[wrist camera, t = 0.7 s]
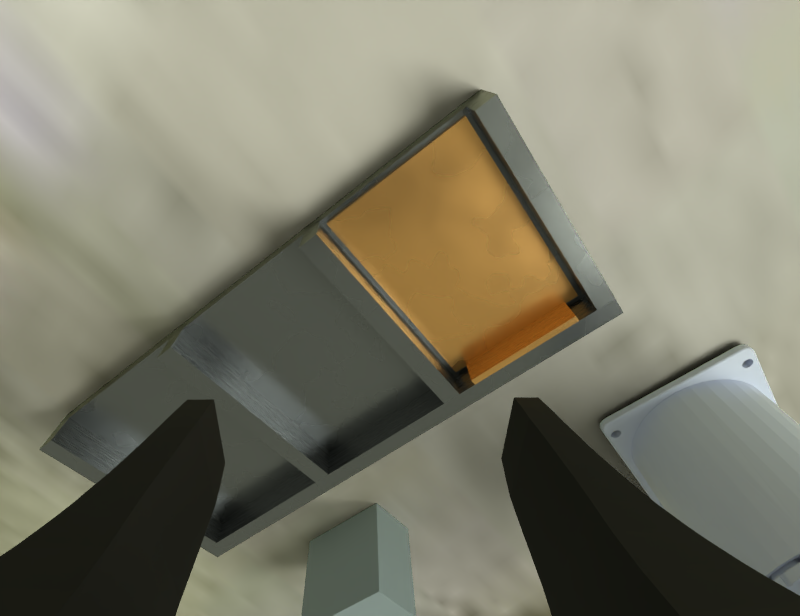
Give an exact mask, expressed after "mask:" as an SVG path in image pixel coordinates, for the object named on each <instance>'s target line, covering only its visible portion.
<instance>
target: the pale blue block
mask: <svg viewBox="0 0 800 616" xmlns="http://www.w3.org/2000/svg"><path fill="white" fill-rule="evenodd" d="M302 616H416V610H415V600H414V589H413V578H412V568H411V557H410V546H409V536H408V529H407V528H406V527H405V526H404V525H403V524H401V523H400V522H399V521H398V520H397V519H395V518H394V517H393V516H392V515H390V514H389V513H388V512H387V511H386V510H384V509H383V508H382V507H381V506H380V505H378V504H377V503H376V504H374V505H372V506H371V507H369V508H367V509H365V510H364V511H362V512H360V513H359V514H357V515H355V516H353V517H352V518H350V519H348V520H346V521H345V522H343V523H341V524H339V525H338V526H336V527H334V528H332V529H331V530H329V531H327V532H326V533H324V534H322V535H320V536H319V537H317V538H315V539H313V540H312V541H310V544H309V553H308V562H307V571H306V580H305V589H304V598H303V607H302Z"/></svg>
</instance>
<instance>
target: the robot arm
mask: <svg viewBox="0 0 800 616" xmlns="http://www.w3.org/2000/svg"><path fill="white" fill-rule="evenodd" d="M600 429H601V430H602V432H603V433H604V435H605V436H606V437H607V439H608V440H609V442H610V443H611V444H612V446H613V447H614V449H615V450H616V451H617V453H618V454H619V455H620V457H621V458H622V460H623V461H624V462H625V464H626V465H627V467H628V468H629V469H630V471H631V472H632V474H633V475H634V476H635V478H636V479H637V480H638V482H639V483H640V485H641V486H642V487H643V489H644V490H645V492H646V493H647V494H648V496H649V497H650V498H651V499H650V498H649V497H648V496H646V495H645V494H644V493H643V492H641V491H640V490H639V489H638V488H636V487H635V486H634V485H633V484H632V483H630V482H629V481H628V480H627V479H626V478H624V477H623V476H622V475H621V474H620V473H618V472H617V471H616V470H615V469H614V468H613V467H612V466H610V465H609V464H608V463H607V462H606V461H605V460H604V459H603V458H601V457H600V456H599V455H598V454H597V453H596V452H595V451H594V450H593V449H592V448H590V447H589V446H588V445H587V444H586V443H585V442H584V441H583V440H582V439H581V438H580V437H579V436H578V435H577V434H576V433H575V432H574V431H572V430H571V429H570V428H569V427H568V426H567V425H566V424H565V423H564V422H563V421H562V420H561V419H560V418H559V417H558V416H557V415H556V414H555V413H554V412H553V411H552V410H551V409H550V408H549V407H548V406H547V405H546V404H545V403H543V402H542V401H541V400H540V399H539V398H514V401H513V405H512V410H511V415H510V420H509V425H508V429H507V434H506V439H505V444H504V449H503V454H502V463H503V468H504V472H505V477H506V481H507V485H508V489H509V494H510V498H511V501H512V503H513V506H514V509H515V512H516V515H517V518H518V520H519V523H520V526H521V529H522V532H523V534H524V537H525V540H526V542H527V545H528V548H529V551H530V553H531V556H532V559H533V562H534V564H535V567H536V570H537V573H538V575H539V578H540V581H541V584H542V586H543V589H544V592H545V595H546V599H547V602H548V605H549V608H550V611H551V615H552V616H800V424H798V423H797V422H796V421H795V420H794V419H793V418H791V417H790V416H789V415H788V414H787V413H785V412H784V411H783V410H782V409H781V408H780V407H778V405H777V403H776V400H775V398H774V396H773V393H772V391H771V389H770V386H769V384H768V382H767V379H766V377H765V375H764V372H763V370H762V368H761V365H760V363H759V361H758V358H757V356H756V354H755V351H754V350H753V349H752V348H751V347H750V346H748V345H746V344H741V345H738V346H736V347H734V348H732V349H730V350H728V351H727V352H725V353H723V354H721V355H719V356H718V357H716V358H714V359H712V360H710V361H708V362H707V363H705V364H703V365H701V366H699V367H698V368H696V369H694V370H692V371H690V372H688V373H687V374H685V375H683V376H681V377H679V378H678V379H676V380H674V381H672V382H670V383H668V384H667V385H665V386H663V387H661V388H659V389H657V390H656V391H654V392H652V393H650V394H648V395H647V396H645V397H643V398H641V399H639V400H637V401H636V402H634V403H632V404H630V405H628V406H627V407H625V408H623V409H621V410H619V411H617V412H616V413H614V414H612V415H610V416H608V417H607V418H605V419H603V420H602V422H601V423H600ZM614 431H615V432H614ZM224 467H225V458H224V453H223V447H222V441H221V436H220V430H219V425H218V419H217V413H216V408H215V402H214V399H205V400H186V401H185V402H184V403H183V404H182V405H181V406H180V407H179V408H178V409H177V410H176V411H174V412H173V413H172V414H171V415H170V416H169V417H168V418H167V419H166V420H165V421H164V422H163V423H162V424H161V425H160V426H159V427H158V428H157V429H156V430H155V431H154V432H153V433H151V434H150V435H149V436H148V437H147V438H146V439H145V440H144V441H143V442H142V443H141V444H140V445H139V446H138V447H137V448H136V449H134V450H133V451H132V452H131V453H130V454H129V455H128V456H127V457H126V458H125V459H124V460H122V461H121V462H120V463H119V464H118V465H117V466H116V467H115V468H114V469H113V470H111V471H110V472H109V473H108V474H107V475H106V476H105V477H103V478H102V479H101V480H100V481H99V482H97V483H96V484H95V485H94V486H93V487H92V488H90V489H89V490H88V491H87V492H86V493H85V494H83V495H82V496H81V497H80V498H79V499H77V500H76V501H75V502H74V503H72V504H71V505H70V506H69V507H67V508H66V509H65V510H64V511H62V512H61V513H60V514H58V515H57V516H56V517H55V518H53V519H52V520H51V521H49V522H48V523H47V524H45V525H44V526H43V527H41V528H40V529H38V530H37V531H36V532H34V533H33V534H32V535H30V536H29V537H28V538H26V539H25V540H23V541H22V542H21V543H19V544H18V545H16V546H15V547H14V548H12V549H11V550H9V551H8V552H6V553H5V554H3V555H2V556H0V616H175V615H176V612H177V609H178V606H179V603H180V600H181V598H182V595H183V592H184V590H185V587H186V584H187V581H188V579H189V576H190V573H191V571H192V568H193V565H194V562H195V560H196V557H197V554H198V552H199V549H200V546H201V544H202V541H203V538H204V535H205V533H206V530H207V527H208V524H209V522H210V519H211V516H212V513H213V510H214V508H215V505H216V501H217V497H218V493H219V489H220V485H221V480H222V476H223V471H224Z"/></svg>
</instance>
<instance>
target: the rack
mask: <svg viewBox="0 0 800 616" xmlns="http://www.w3.org/2000/svg"><path fill="white" fill-rule="evenodd" d="M622 313H623V311H622V310H621V308H620V306H619V304H618V303H617V301H616V299H615V297H614V296H613V294H612V292H611V291H610V289H609V287H608V285H607V284H606V282H605V280H604V278H603V277H602V275H601V273H600V272H599V270H598V268H597V266H596V265H595V263H594V261H593V259H592V258H591V256H590V254H589V253H588V251H587V249H586V247H585V246H584V244H583V242H582V241H581V239H580V237H579V235H578V234H577V232H576V230H575V228H574V227H573V225H572V223H571V222H570V220H569V218H568V216H567V215H566V213H565V211H564V209H563V208H562V206H561V204H560V203H559V201H558V199H557V197H556V196H555V194H554V192H553V191H552V189H551V187H550V185H549V184H548V182H547V180H546V178H545V177H544V175H543V173H542V172H541V170H540V168H539V166H538V165H537V163H536V161H535V159H534V158H533V156H532V154H531V153H530V151H529V149H528V147H527V146H526V144H525V142H524V140H523V139H522V137H521V135H520V134H519V132H518V130H517V128H516V127H515V125H514V123H513V122H512V120H511V118H510V116H509V115H508V113H507V111H506V109H505V108H504V106H503V104H502V103H501V101H500V99H499V97H498V96H497V94H494V93H491V92H488V91H484V90H480V91H478V92H477V93H476V94H474V95H473V96H472V97H471V98H469V99H468V100H467V101H466V102H464V103H463V104H462V105H460V106H459V107H458V108H457V109H455V110H454V111H453V112H452V113H450V114H449V115H448V116H446V117H445V118H444V119H443V120H441V121H440V122H439V123H438V124H436V125H435V126H434V127H432V128H431V129H430V130H429V131H427V132H426V133H425V134H424V135H422V136H421V137H420V138H419V139H417V140H416V141H415V142H413V143H412V144H411V145H410V146H408V147H407V148H406V149H405V150H403V151H402V152H401V153H399V154H398V155H397V156H396V157H394V158H393V159H392V160H391V161H389V162H388V163H387V164H385V165H384V166H383V167H382V168H380V169H379V170H378V171H377V172H375V173H374V174H373V175H371V176H370V177H369V178H368V179H366V180H365V181H364V182H363V183H361V184H360V185H359V186H358V187H356V188H355V189H354V190H352V191H351V192H350V193H349V194H347V195H346V196H345V197H344V198H342V199H341V200H340V201H338V202H337V203H336V204H335V205H333V206H332V207H331V208H330V209H328V210H327V211H326V212H324V213H323V214H322V215H321V216H319V217H318V218H317V219H316V220H314V221H313V222H312V223H311V224H309V225H308V226H307V227H305V228H304V229H303V230H302V231H300V232H299V233H298V234H297V235H295V236H294V237H293V238H291V239H290V240H289V241H288V242H286V243H285V244H284V245H283V246H281V247H280V248H279V249H277V250H276V251H275V252H274V253H272V254H271V255H270V256H269V257H267V258H266V259H265V260H263V261H262V262H261V263H260V264H258V265H257V266H256V267H255V268H253V269H252V270H251V271H250V272H248V273H247V274H246V275H244V276H243V277H242V278H241V279H239V280H238V281H237V282H236V283H234V284H233V285H232V286H230V287H229V288H228V289H227V290H225V291H224V292H223V293H222V294H220V295H219V296H218V297H216V298H215V299H214V300H213V301H211V302H210V303H209V304H208V305H206V306H205V307H204V308H202V309H201V310H200V311H199V312H197V313H196V314H195V315H194V316H192V317H191V318H190V319H189V320H187V321H186V322H185V323H183V324H182V325H181V326H180V327H178V328H177V329H176V330H175V331H173V332H172V333H171V334H169V335H168V336H167V337H166V338H164V339H163V340H162V341H161V342H159V343H158V344H157V345H155V346H154V347H153V348H152V349H150V350H149V351H148V352H147V353H145V354H144V355H143V356H141V357H140V358H139V359H138V360H136V361H135V362H134V363H133V364H131V365H130V366H129V367H128V368H126V369H125V370H124V371H122V372H121V373H120V374H119V375H117V376H116V377H115V378H114V379H112V380H111V381H110V382H108V383H107V384H106V385H105V386H103V387H102V388H101V389H100V390H98V391H97V392H96V393H94V394H93V395H92V396H91V397H89V398H88V399H87V400H86V401H84V402H83V403H82V404H81V405H79V406H78V407H77V408H75V409H74V410H73V411H72V412H70V413H69V414H68V415H67V416H66V417H65V419H64V420H63V421H62V422H61V423H60V425H59V426H58V427H57V428H56V430H55V431H54V432H53V433H52V435H51V436H50V437H49V438H48V439H47V441H46V442H45V443H44V444H43V446H42V447H41V448H40V449H39V450H41V451H43V452H44V453H46V454H48V455H49V456H51V457H53V458H54V459H56V460H58V461H59V462H61V463H63V464H64V465H66V466H68V467H69V468H71V469H72V470H74V471H76V472H77V473H79V474H81V475H82V476H84V477H86V478H87V479H89V480H91V481H92V482H94V483H97V482H99V481H100V480H101V479H102V478H103V477H105V476H106V475H107V474H108V473H109V472H110V471H111V470H113V469H114V468H115V467H116V466H117V465H118V464H119V463H120V462H121V461H122V460H124V459H125V458H126V457H127V456H128V455H129V454H130V453H131V452H132V451H133V450H134V449H136V448H137V447H138V446H139V445H140V444H141V443H142V442H143V441H144V440H145V439H146V438H147V437H148V436H149V435H150V434H151V433H153V432H154V431H155V430H156V429H157V428H158V427H159V426H160V425H161V424H162V423H163V422H164V421H165V420H166V419H167V418H168V417H169V416H170V415H171V414H172V413H173V412H174V411H176V410H177V409H178V408H179V407H180V406H181V405H182V404H183V403H184V402H185V401H186V400H205V399H214V402H215V408H216V413H217V419H218V425H219V430H220V436H221V441H222V447H223V453H224V458H225V467H224V471H223V476H222V480H221V485H220V489H219V493H218V497H217V501H216V505H215V508H214V510H213V513H212V516H211V519H210V522H209V524H208V527H207V530H206V533H205V535H204V538H203V541H202V544H201V546H200V547H202V548H203V549H205V550H207V551H208V552H210V553H212V554H213V555H215V556H217V557H218V556H220V555H222V554H223V553H225V552H227V551H228V550H230V549H232V548H233V547H235V546H237V545H238V544H240V543H242V542H243V541H245V540H247V539H248V538H250V537H252V536H253V535H255V534H256V533H258V532H260V531H261V530H263V529H265V528H266V527H268V526H270V525H271V524H273V523H275V522H276V521H278V520H280V519H281V518H283V517H285V516H286V515H288V514H290V513H291V512H293V511H295V510H296V509H298V508H300V507H301V506H303V505H305V504H306V503H308V502H310V501H311V500H313V499H315V498H316V497H318V496H320V495H321V494H323V493H325V492H326V491H328V490H330V489H331V488H333V487H335V486H336V485H338V484H340V483H341V482H343V481H345V480H346V479H348V478H349V477H351V476H353V475H354V474H356V473H358V472H359V471H361V470H363V469H364V468H366V467H368V466H369V465H371V464H373V463H374V462H376V461H378V460H379V459H381V458H383V457H384V456H386V455H388V454H389V453H391V452H393V451H394V450H396V449H398V448H399V447H401V446H403V445H404V444H406V443H408V442H409V441H411V440H413V439H414V438H416V437H418V436H419V435H421V434H423V433H424V432H426V431H428V430H429V429H431V428H433V427H434V426H436V425H438V424H439V423H441V422H442V421H444V420H446V419H447V418H449V417H451V416H452V415H454V414H456V413H457V412H459V411H461V410H462V409H464V408H466V407H467V406H469V405H471V404H472V403H474V402H476V401H477V400H479V399H481V398H482V397H484V396H486V395H487V394H489V393H491V392H492V391H494V390H496V389H497V388H499V387H501V386H502V385H504V384H506V383H507V382H509V381H511V380H512V379H514V378H516V377H517V376H519V375H521V374H522V373H524V372H526V371H527V370H529V369H531V368H532V367H534V366H535V365H537V364H539V363H540V362H542V361H544V360H545V359H547V358H549V357H550V356H552V355H554V354H555V353H557V352H559V351H560V350H562V349H564V348H565V347H567V346H569V345H570V344H572V343H574V342H575V341H577V340H579V339H580V338H582V337H584V336H585V335H587V334H589V333H590V332H592V331H594V330H595V329H597V328H599V327H600V326H602V325H604V324H605V323H607V322H609V321H610V320H612V319H614V318H615V317H617V316H619V315H620V314H622Z"/></svg>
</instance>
